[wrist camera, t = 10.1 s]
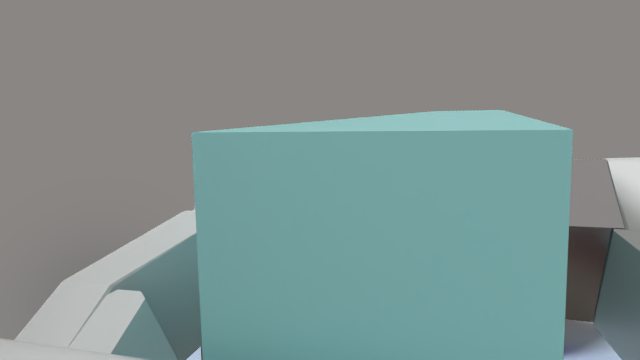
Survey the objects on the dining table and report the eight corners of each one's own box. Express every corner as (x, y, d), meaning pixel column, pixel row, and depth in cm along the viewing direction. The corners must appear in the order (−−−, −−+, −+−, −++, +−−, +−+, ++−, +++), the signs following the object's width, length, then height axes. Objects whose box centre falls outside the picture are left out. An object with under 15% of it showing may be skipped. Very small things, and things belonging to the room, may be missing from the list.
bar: (556, 522, 5) (573, 129, 4) (207, 454, 6) (191, 132, 5) (500, 174, 29) (501, 110, 29) (435, 173, 30) (435, 111, 30)
